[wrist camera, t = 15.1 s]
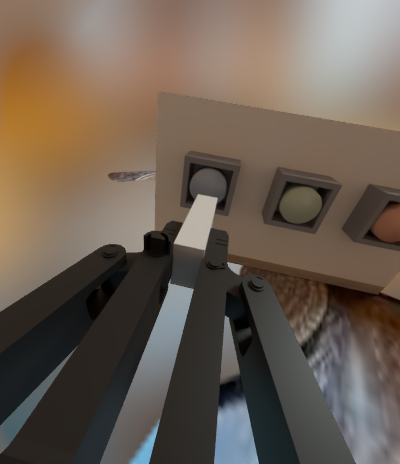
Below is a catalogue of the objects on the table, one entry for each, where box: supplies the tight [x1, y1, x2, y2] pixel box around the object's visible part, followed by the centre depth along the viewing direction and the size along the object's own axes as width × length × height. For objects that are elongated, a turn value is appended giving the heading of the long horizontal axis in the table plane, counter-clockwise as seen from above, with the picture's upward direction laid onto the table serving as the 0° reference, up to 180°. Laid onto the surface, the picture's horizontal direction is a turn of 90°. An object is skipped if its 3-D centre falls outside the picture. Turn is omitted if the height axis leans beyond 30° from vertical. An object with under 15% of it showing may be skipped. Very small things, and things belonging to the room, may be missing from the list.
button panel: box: [155, 91, 400, 295], centre depth 26 cm, size 11×34×20 cm, turn 81°
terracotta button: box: [369, 201, 400, 242], centre depth 21 cm, size 2×4×4 cm, turn 81°
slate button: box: [190, 166, 227, 203], centre depth 22 cm, size 2×4×4 cm, turn 81°
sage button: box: [278, 183, 322, 224], centre depth 21 cm, size 2×4×4 cm, turn 81°
